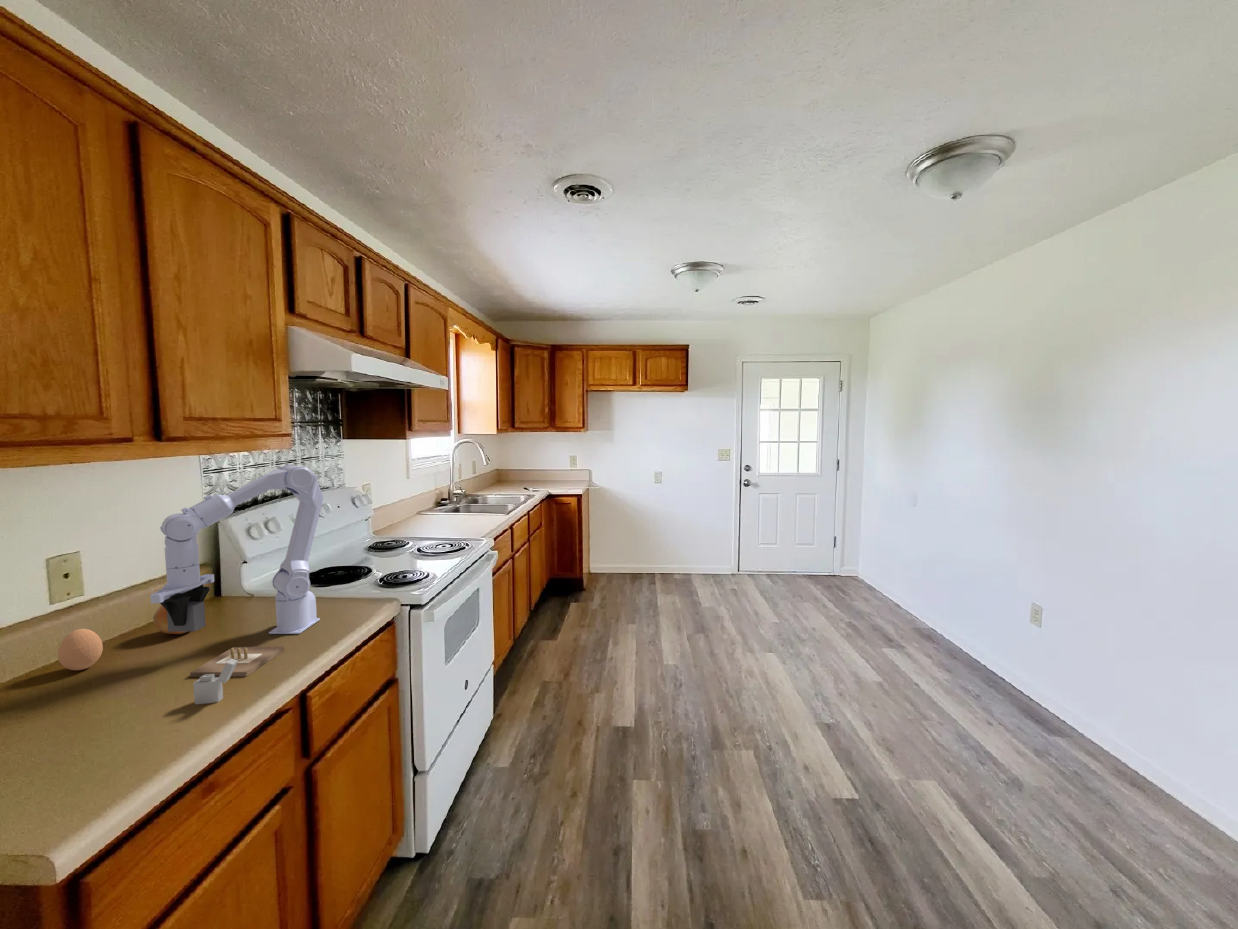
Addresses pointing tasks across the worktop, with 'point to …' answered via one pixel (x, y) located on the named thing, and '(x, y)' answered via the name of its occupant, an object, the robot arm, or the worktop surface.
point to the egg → (80, 649)
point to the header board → (239, 661)
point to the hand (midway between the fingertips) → (186, 622)
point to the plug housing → (190, 618)
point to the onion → (163, 621)
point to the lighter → (212, 685)
